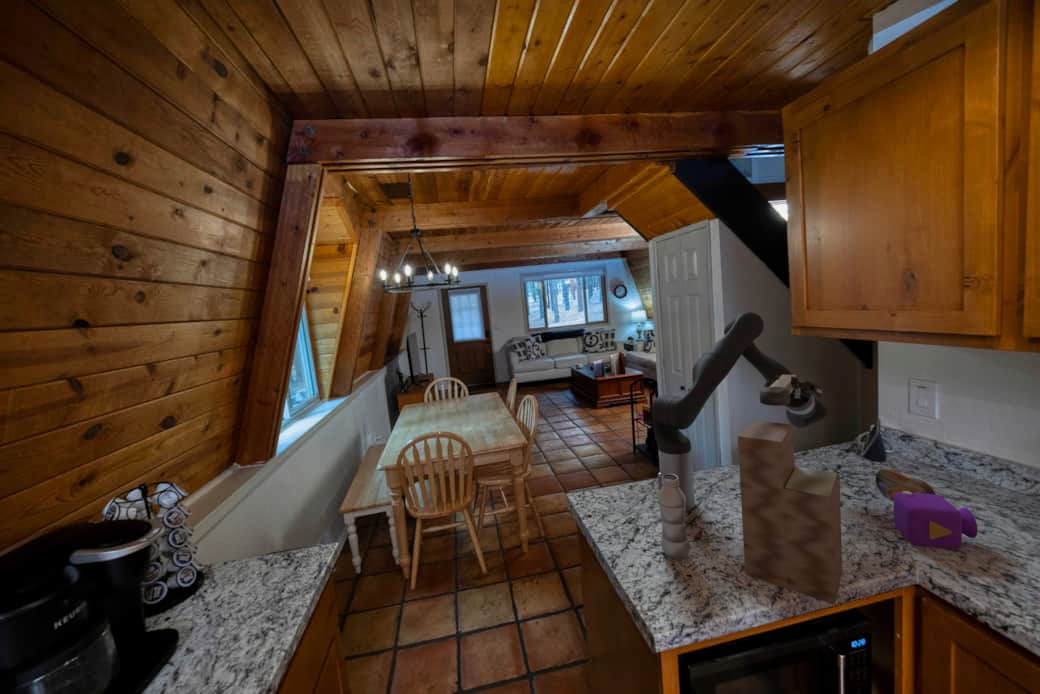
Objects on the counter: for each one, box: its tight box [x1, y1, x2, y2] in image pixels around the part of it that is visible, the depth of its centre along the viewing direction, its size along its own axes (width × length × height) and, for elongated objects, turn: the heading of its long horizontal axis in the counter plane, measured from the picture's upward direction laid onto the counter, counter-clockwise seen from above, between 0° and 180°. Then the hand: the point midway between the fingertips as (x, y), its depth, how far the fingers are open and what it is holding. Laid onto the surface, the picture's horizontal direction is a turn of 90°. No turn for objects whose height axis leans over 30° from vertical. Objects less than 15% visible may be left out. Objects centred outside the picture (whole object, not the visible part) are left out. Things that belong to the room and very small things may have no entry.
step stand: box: [737, 419, 843, 606], centre depth 88 cm, size 16×12×32 cm
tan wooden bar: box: [759, 374, 797, 407], centre depth 100 cm, size 6×20×3 cm, turn 137°
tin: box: [875, 468, 937, 502], centre depth 110 cm, size 15×3×8 cm, turn 1°
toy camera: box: [893, 491, 979, 550], centre depth 95 cm, size 11×14×10 cm
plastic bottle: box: [657, 474, 691, 561], centre depth 99 cm, size 6×7×20 cm
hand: (784, 379), depth 103 cm, fingers closed on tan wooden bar, 3 cm apart
